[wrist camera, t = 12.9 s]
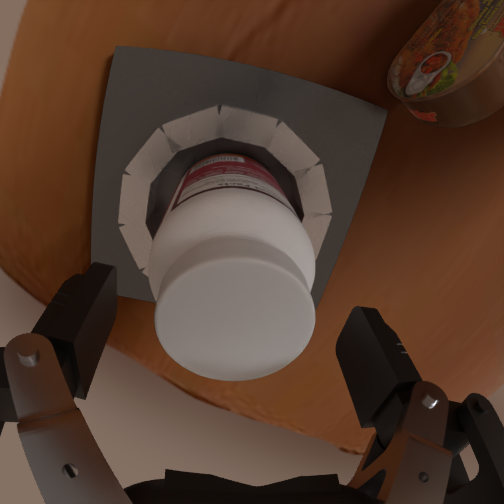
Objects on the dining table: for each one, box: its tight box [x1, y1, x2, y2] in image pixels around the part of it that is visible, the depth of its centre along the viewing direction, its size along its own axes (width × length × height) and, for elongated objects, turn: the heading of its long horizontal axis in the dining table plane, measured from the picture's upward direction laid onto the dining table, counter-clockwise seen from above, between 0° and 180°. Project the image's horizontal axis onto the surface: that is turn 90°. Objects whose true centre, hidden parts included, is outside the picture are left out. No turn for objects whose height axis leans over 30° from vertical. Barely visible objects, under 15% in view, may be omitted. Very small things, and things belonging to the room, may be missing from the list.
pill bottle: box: [148, 153, 315, 381], centre depth 14 cm, size 6×6×11 cm
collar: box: [91, 46, 388, 311], centre depth 18 cm, size 16×16×4 cm
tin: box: [387, 0, 504, 128], centre depth 11 cm, size 15×3×8 cm, turn 143°
